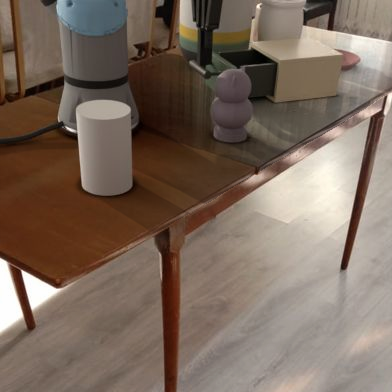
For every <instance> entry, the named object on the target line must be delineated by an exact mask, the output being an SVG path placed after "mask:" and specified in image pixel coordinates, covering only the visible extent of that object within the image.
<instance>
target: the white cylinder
mask: <svg viewBox="0 0 392 392" xmlns="http://www.w3.org/2000/svg"><path fill="white" fill-rule="evenodd" d="M76 118H77V130H78V138H77V141H78V154H79V166H80V177H81V187H82V189H83V190H84V191H85V192H88V193H90V194H92V195H96V196H104V197H106V196H109V197H110V196H111V197H112V196H116V195H121V194H124V193H127V192H128V191H129V190H131V189H132V187H133V149H132V146H133V145H132V134H131V109H130V107H129V106H128V105H126V104H124V103H122V102H118V101H113V100H93V101H88V102H84V103H82V104H80V105H78V106H77V108H76Z"/></svg>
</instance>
